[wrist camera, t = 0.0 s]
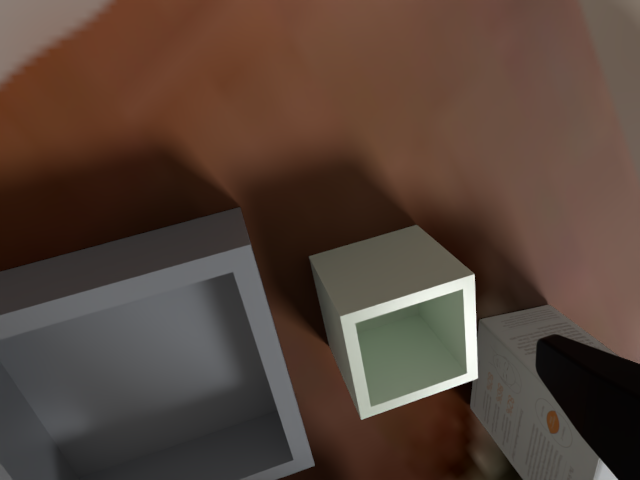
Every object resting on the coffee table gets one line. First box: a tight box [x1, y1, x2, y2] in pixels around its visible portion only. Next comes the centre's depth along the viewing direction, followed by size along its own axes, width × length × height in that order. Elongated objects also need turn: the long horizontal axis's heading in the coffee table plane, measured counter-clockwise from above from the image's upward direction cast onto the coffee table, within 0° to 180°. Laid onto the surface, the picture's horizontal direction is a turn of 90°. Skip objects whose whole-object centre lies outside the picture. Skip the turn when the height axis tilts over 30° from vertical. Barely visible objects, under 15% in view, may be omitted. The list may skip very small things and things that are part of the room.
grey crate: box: [0, 207, 315, 480], centre depth 23 cm, size 14×14×4 cm
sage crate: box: [309, 225, 478, 420], centre depth 24 cm, size 6×6×6 cm
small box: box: [470, 305, 618, 480], centre depth 27 cm, size 8×6×10 cm
